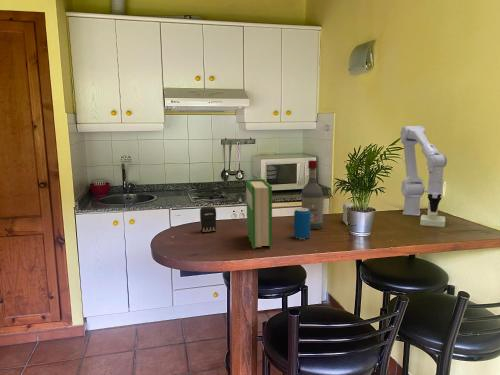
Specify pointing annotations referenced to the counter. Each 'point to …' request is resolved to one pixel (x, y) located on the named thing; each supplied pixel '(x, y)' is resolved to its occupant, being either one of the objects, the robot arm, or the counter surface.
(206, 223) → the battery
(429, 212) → the cream block
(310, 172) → the liquor
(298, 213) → the beverage can
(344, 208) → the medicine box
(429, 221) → the sage block
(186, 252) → the counter surface
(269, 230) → the hardback book
